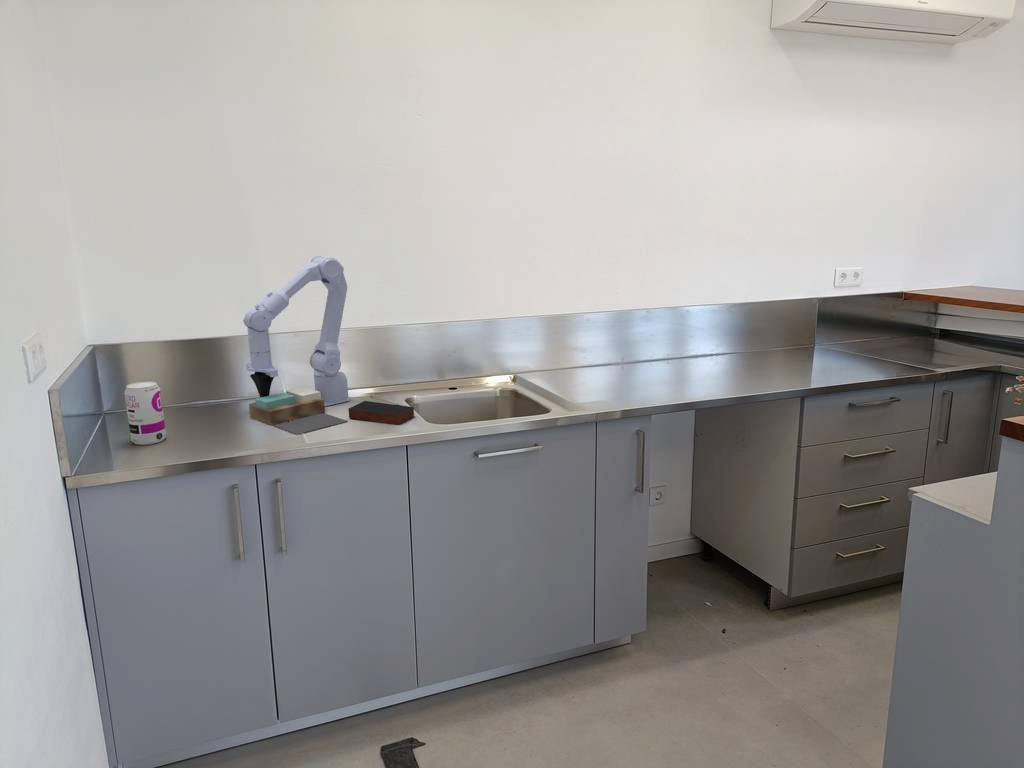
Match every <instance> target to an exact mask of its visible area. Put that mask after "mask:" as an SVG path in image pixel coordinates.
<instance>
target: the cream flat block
mask: <svg viewBox="0 0 1024 768" xmlns="http://www.w3.org/2000/svg"><path fill="white" fill-rule="evenodd" d="M285 393H287V394H290V395H293V396H295V400H296V401H299V402H302V403H304V402H308V401H312V400H317V399H321V392H319V391H316V390H315V389H312V388H308V387H306V386H302V387H298V388H291V389H289V390H286V391H285Z"/></svg>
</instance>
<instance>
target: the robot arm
mask: <svg viewBox="0 0 1024 768" xmlns="http://www.w3.org/2000/svg"><path fill="white" fill-rule="evenodd" d="M316 281H320V282H321V283H322V284H323V286H324V287H325V288H326V289H327V296H326V302H325V308H324V312H323V313H324V314H323V319H322V325H321V331H320V336H319V341H318V342H317V343H316V345H315V346H314V351H313V352H312V354H311V355H310V357H309V365H310V367H311V368H312V369H313V381H314V390H316V391H319V392H321V399H324V407H328V406H329V407H330V406H333V405H337V404H341V403H345V402H350V401H351V399H350V398H349V389H348V388H349V386H348V377H347V376H346V374H345V373H344V372H342V371H340V369H341V367H342V364H341V363H342V362H341V357H340V356H341V351H340V348H339V345H338V342H339V337H340V332H341V331H340V330H341V325H342V320H343V314H344V308H345V303H346V297H347V292H348V283H347V280H346V277H345V273H344V266H343V265H342V264H341V262H339V261H338V260H337V258H335V257H325V256H321V255H320V256H319V255H318V256H314V257H313V258H312V259H311V260H310V261H308V262H306V263H305V264H304V266H303V267H302V268H301V269H300V270H299V271H298V272H297V273H296V274H295V275H294V276H293V277H292V278H291V279H290V281H288V282H287V283H286V284H285V285H284V286H283V287H282V288H281V289H280V290H277V289H276V290H273V291H268V292H267V293H266V297H265V298H264V299H262V301H261V302H260V303H256V304H255V305H254V308H253V309H249V310H248V311H246V313H245V315H244V318H243V324H244V325H245V327H247V339H248V348H249V358H250V359H249V360H250V362H247V363H245V365H246V371H248V372H254V373H252V374H251V373H250V375H249V376H250V379H252V381H253V383H254V385H255V386H256V387H255V388H256V389H257V392H258V395H259V398H261V397H265V396H270V394H271V387H272V383H273V380H274V378H276V377H279V369H278V368H276V367H275V366H274V365H273V361H272V351H271V341H270V333H269V332H270V331H269V329H270V328H271V326H272V321H273V320H275V318H276V317H278V316H279V315H280V314H281V313H283V311H284V310H286V308H287V307H288V306H289V303H290V299H291V298H292V297H293V296H294V295H296V294H297V293H298V292H299V291H301V290H302V288H304V287H305V286H306V285H307V284H309V283H310V282H316Z"/></svg>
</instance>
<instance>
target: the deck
mask: <svg viewBox="0 0 1024 768" xmlns="http://www.w3.org/2000/svg"><path fill="white" fill-rule="evenodd" d="M325 407H326V406H325ZM325 407H324V399H317V400H312V401H308V402H304V403H302V402H299V401H296V400H295V403H292V404H288V405H284V406H279V407H275V408H270V409H264V408H261V407H259V406H256V403H255V402H252V403H248V409H249V417H250V418H251V419H252V420H256V421H258V422H262V423H264V424H266V425H270V426H272V427H273V425H277V424H281V423H285V422H287V421H292V420H297V419H301V418H305V417H309V416H314V415H318V414H322V413H325V414H326V411H325V410H326V408H325Z"/></svg>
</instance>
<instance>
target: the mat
mask: <svg viewBox="0 0 1024 768" xmlns="http://www.w3.org/2000/svg"><path fill="white" fill-rule="evenodd" d="M348 422H349V421H348V420H347V419H343V418H341V417H338V416H333V415H332V414H328V413H326V412H325V413H321V414H317V415H313V416H309V417H305V418H301V419H297V420H293V421H289V422H284V423H280V424H276V425H272V427H274V428H277V429H280V430H283V431H284V430H285V432H287V431H288V433H290V432H291V433H290V434H292V433H294V434H293V435H295V434H300V435H302V434H301V433H304V434H307V433H311V432H315V431H318V430H319V431H320V430H322V429H326V428H330V427H335V426H337V425H342V424H345V423H348Z"/></svg>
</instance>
